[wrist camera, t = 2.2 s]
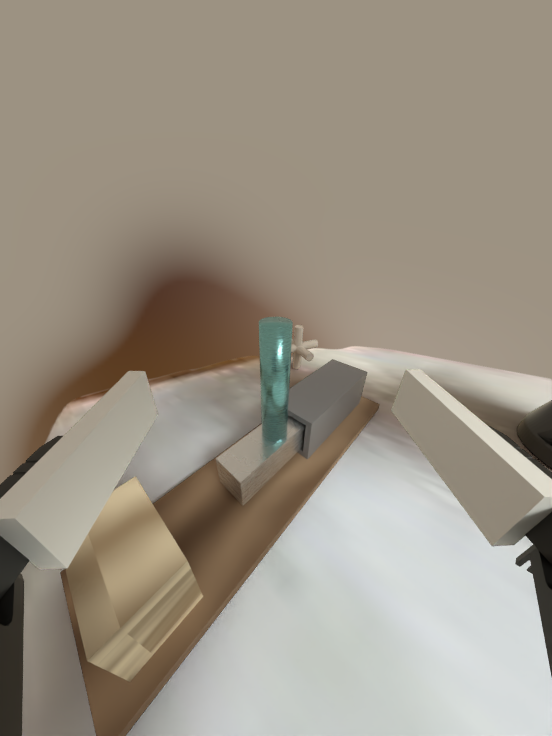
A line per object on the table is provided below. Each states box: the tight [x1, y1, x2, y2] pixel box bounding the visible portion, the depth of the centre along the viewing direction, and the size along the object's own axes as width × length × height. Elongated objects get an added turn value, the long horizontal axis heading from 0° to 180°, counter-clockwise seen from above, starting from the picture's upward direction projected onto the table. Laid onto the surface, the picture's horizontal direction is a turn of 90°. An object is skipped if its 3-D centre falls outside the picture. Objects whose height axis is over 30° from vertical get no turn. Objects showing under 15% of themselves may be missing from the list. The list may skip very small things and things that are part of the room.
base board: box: [60, 396, 380, 736], centre depth 30 cm, size 12×42×1 cm, turn 138°
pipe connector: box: [291, 325, 318, 369], centre depth 51 cm, size 10×10×10 cm
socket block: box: [65, 476, 203, 682], centre depth 17 cm, size 9×6×7 cm, turn 48°
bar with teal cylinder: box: [216, 317, 306, 506], centre depth 28 cm, size 4×24×18 cm, turn 138°
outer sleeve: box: [288, 359, 367, 459], centre depth 35 cm, size 6×16×6 cm, turn 138°
